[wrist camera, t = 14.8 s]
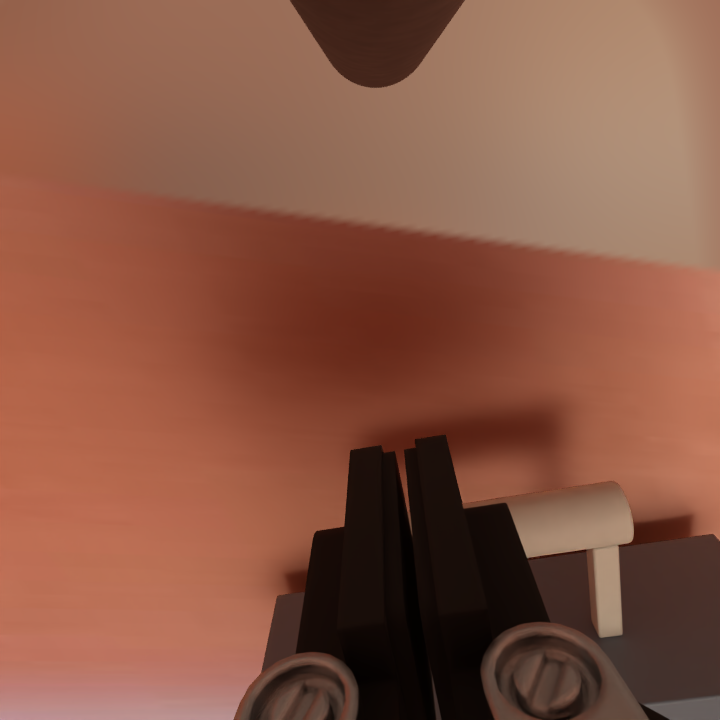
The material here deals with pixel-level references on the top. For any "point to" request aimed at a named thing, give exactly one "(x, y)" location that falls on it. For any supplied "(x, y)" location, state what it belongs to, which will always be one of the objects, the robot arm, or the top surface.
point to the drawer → (607, 596)
